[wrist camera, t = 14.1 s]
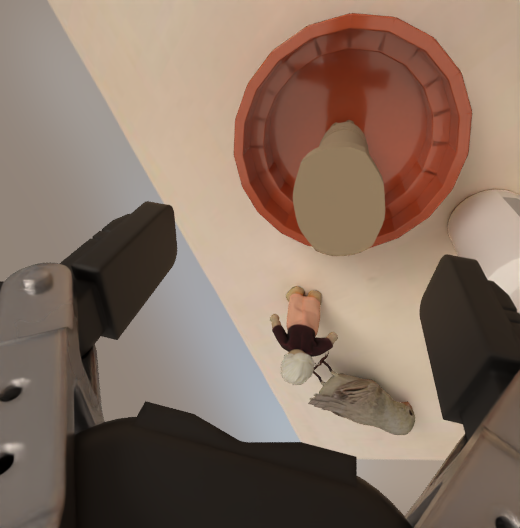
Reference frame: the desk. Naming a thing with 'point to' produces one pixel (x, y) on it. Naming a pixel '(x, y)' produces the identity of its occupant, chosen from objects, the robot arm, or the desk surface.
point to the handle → (340, 193)
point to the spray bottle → (490, 236)
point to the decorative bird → (363, 402)
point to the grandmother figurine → (301, 335)
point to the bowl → (356, 116)
